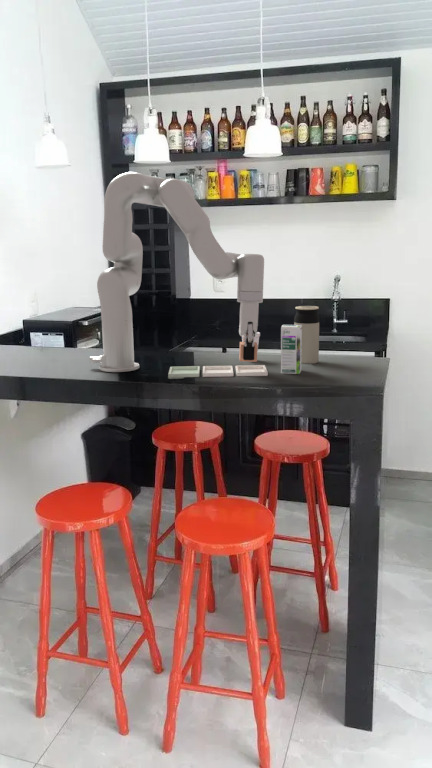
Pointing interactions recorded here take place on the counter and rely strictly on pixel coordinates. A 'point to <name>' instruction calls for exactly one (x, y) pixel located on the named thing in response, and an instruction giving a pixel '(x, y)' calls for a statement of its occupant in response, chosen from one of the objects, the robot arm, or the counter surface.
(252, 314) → the robot arm
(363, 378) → the counter surface
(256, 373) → the tray
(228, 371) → the tray
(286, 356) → the syrup box
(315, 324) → the travel mug
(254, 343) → the light orange cube
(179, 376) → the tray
